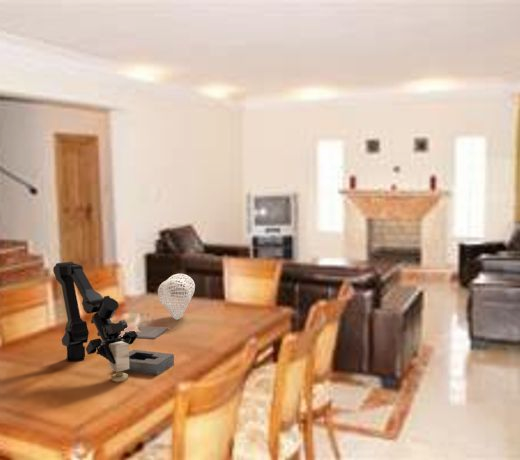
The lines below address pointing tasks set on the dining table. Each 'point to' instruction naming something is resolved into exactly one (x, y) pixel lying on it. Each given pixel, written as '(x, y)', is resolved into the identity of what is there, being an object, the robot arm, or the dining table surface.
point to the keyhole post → (119, 360)
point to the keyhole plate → (149, 362)
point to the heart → (165, 294)
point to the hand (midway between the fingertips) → (121, 361)
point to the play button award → (150, 332)
